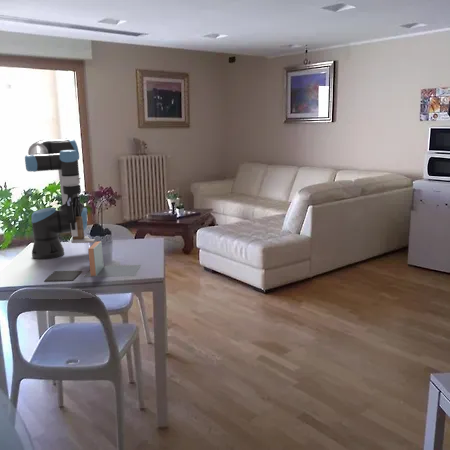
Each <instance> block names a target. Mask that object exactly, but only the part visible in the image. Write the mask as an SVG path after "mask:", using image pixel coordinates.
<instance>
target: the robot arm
mask: <svg viewBox="0 0 450 450" xmlns="http://www.w3.org/2000/svg"><path fill="white" fill-rule="evenodd" d="M27 153H28V154H27V155H25V156H24V163H25V164H24V165H25V169H26V171H27V172H31V173H32V172H34V173H35V172H45V171H47V172H48V171H58V178H59V186H60V193H61V202H62V204H61V205H60V207H59V210H58V209H57V208H55V207H45V208H41V209H38V210H35V211H33V212H32V214H31V226H32V232H33V233H32V235H33V247H32V249H31V256H32V258H33V259H37V260H48V259H54V258H58V257H61V256H63V255H64V254H65V249H64V247H63V245H62V242H61V240H60V235H59V234H68V233H71V238H73V237H74V236H78V230H77V222H76V217H78V216H82V219H83V230H84V231H86V230H87V228H88V208H87V207H84V204H83V203H82V202H81V196H80V194H81V193H82V190H81V185H80V184H81V182H80V181H81V179H82V178H81V177H80V171H79V161H80V160H79V159H80V152H79V148H78V145H77V142H76V140H75V139H73V138H67V137H66V138H56V139H53V138H52V139H51V138H50V139H42V140H41V139H40V140H39V141H36V142H34V143H33V144H31V145H30V146H29V147H28V152H27Z"/></svg>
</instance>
